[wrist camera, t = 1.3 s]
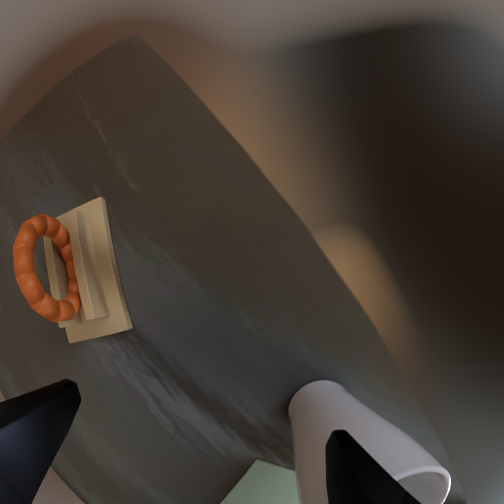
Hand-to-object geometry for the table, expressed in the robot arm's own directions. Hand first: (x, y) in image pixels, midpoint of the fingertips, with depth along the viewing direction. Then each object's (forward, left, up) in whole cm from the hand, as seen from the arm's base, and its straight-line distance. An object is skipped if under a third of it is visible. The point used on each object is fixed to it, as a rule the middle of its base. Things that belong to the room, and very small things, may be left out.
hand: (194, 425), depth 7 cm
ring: (-1, +14, -13) cm, 19 cm away
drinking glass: (-2, -9, -14) cm, 17 cm away
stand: (-1, +14, -14) cm, 20 cm away
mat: (-14, -12, -14) cm, 23 cm away
